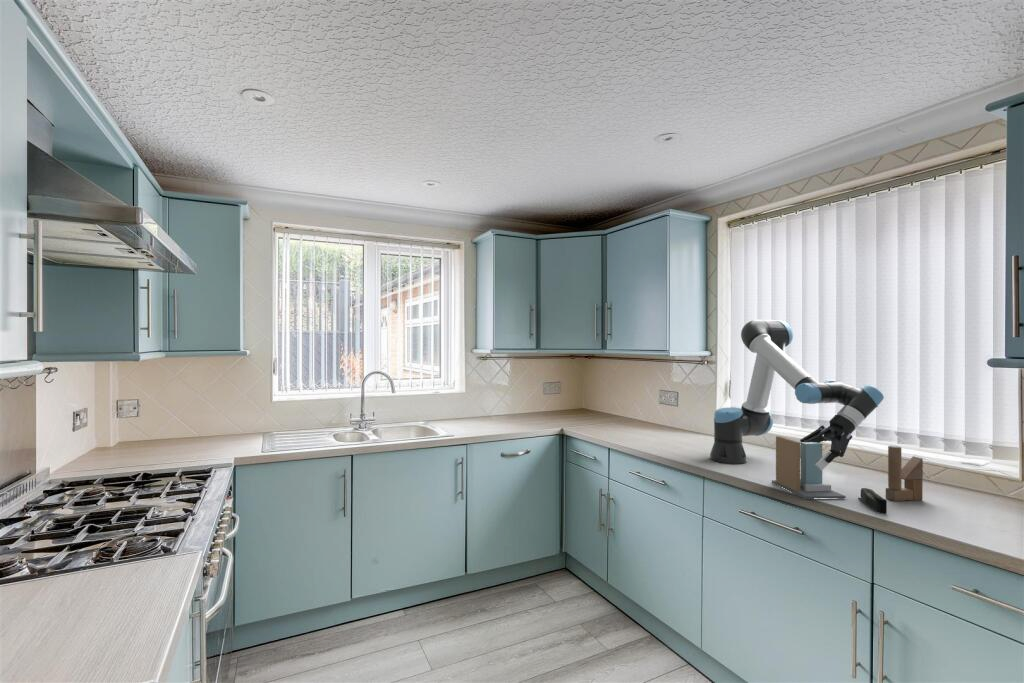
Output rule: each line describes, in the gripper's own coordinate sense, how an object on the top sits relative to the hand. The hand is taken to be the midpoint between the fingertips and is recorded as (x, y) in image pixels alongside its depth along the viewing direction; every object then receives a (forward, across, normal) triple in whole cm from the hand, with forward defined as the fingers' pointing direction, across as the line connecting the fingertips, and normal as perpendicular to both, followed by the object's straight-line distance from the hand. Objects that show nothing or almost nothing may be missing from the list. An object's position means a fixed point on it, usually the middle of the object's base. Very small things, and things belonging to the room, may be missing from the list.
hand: (805, 463), depth 177 cm
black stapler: (0, -18, -15) cm, 23 cm away
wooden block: (-12, -11, -26) cm, 31 cm away
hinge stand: (+7, 0, -7) cm, 10 cm away
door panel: (+5, 0, -8) cm, 9 cm away
